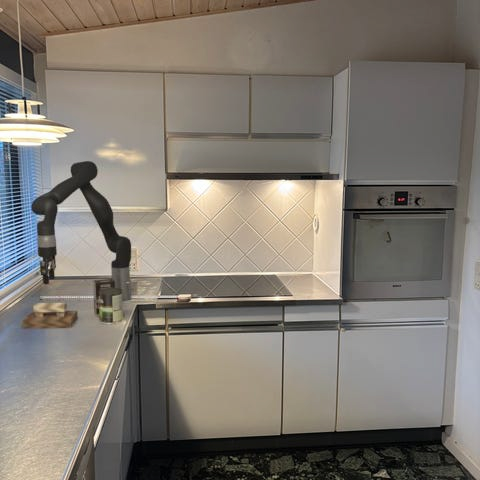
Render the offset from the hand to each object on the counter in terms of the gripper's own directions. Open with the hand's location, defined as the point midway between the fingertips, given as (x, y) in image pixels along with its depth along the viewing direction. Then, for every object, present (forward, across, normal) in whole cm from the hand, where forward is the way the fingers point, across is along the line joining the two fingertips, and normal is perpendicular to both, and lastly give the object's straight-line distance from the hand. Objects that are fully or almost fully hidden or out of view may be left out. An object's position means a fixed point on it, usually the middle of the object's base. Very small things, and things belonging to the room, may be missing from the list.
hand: (49, 281), depth 210 cm
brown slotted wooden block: (+19, 0, 0) cm, 19 cm away
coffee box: (+20, +13, -21) cm, 31 cm away
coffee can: (+20, +2, -26) cm, 32 cm away
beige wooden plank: (+18, 0, 0) cm, 18 cm away
